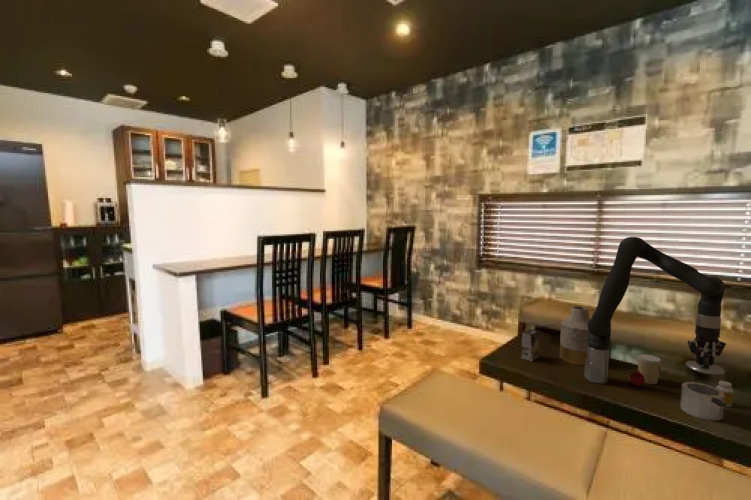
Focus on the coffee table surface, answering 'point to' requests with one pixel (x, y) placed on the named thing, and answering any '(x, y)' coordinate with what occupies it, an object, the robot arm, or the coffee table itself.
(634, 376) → the onion
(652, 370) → the coffee cup
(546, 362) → the coffee table surface
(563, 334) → the vase
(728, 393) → the supplement bottle
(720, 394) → the pot
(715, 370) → the lid
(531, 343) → the coffee box
